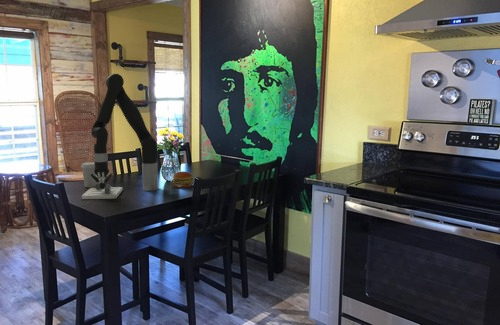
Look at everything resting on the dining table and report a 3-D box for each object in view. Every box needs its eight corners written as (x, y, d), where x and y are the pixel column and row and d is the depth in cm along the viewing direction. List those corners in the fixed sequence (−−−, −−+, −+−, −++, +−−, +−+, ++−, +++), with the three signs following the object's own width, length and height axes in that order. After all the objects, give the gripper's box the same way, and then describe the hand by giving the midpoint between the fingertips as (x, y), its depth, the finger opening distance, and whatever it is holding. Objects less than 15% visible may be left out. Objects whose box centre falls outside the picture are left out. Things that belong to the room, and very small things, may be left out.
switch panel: (122, 190, 260) (122, 187, 260) (116, 198, 240) (115, 194, 240) (91, 190, 258) (91, 187, 257) (81, 199, 238) (81, 195, 238)
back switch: (101, 187, 256) (100, 182, 255) (100, 188, 253) (99, 183, 252) (97, 187, 255) (96, 182, 255) (95, 189, 252) (95, 183, 252)
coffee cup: (81, 188, 264) (79, 165, 262) (83, 184, 273) (81, 162, 271) (97, 187, 267) (96, 164, 264) (98, 184, 276) (97, 161, 273)
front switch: (110, 192, 245) (110, 186, 244) (109, 193, 242) (108, 187, 241) (105, 192, 245) (105, 186, 244) (104, 193, 242) (104, 187, 241)
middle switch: (110, 189, 251) (110, 184, 250) (109, 191, 248) (109, 185, 247) (106, 189, 250) (106, 184, 250) (105, 191, 247) (105, 185, 247)
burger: (189, 189, 263) (188, 174, 261) (169, 188, 266) (168, 173, 264) (196, 185, 276) (195, 170, 274) (176, 184, 279) (176, 169, 277)
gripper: (113, 159, 250) (115, 187, 253) (91, 159, 249) (92, 187, 252) (111, 161, 243) (112, 190, 246) (87, 161, 241) (89, 190, 244)
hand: (102, 188), depth 249 cm, fingers closed
